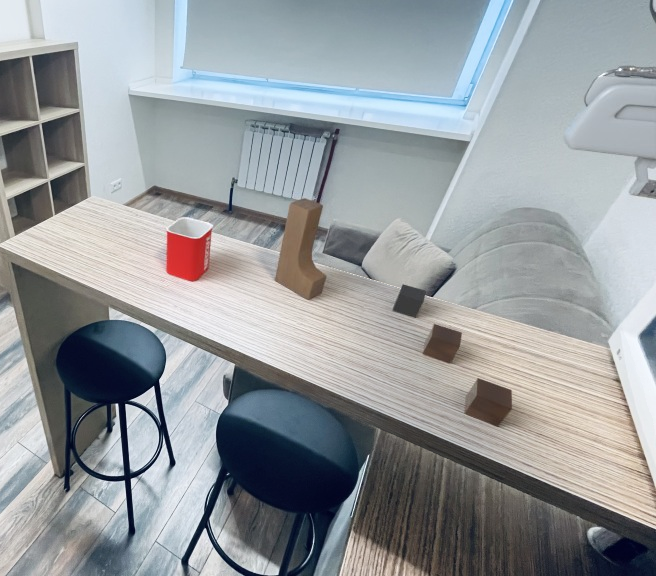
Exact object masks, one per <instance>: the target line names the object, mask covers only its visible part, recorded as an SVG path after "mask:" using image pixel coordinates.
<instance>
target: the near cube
mask: <svg viewBox="0 0 656 576" xmlns="http://www.w3.org/2000/svg"><path fill="white" fill-rule="evenodd" d="M512 410H513V389H511V388H507V387H505V386H502V385H499V384H496V383H494V382H491V381H488V380H485V379H483V378H480V377H477V379H476V380H475V382H474V383H473V385H472V386H471V388H470V389H469V391H468V392H467V394H466V395H465V402H464V415H467V416H469V417H472V418H474V419H477V420H479V421H482V422H484V423H487V424H489V425H492V426H495V427H497V428H498V427H500V425H501V424H502V422H503V421H504V420H505V419H506V417H507V416H508V415H509V413H511V411H512Z"/></svg>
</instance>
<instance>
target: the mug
mask: <svg viewBox="0 0 656 576" xmlns="http://www.w3.org/2000/svg"><path fill="white" fill-rule="evenodd" d="M213 228H214V224H213V223H211V222H208V221H207V220H200V219H196V218H193V217H187V216H180V217H178V218H177V219H176V220H174V221H173V222H172V223H170V224H169V225H168V226H166V228H165V232H166V268H165V269H166V273H167V274H168V275H171V276H174V277H177V278H180V279H183V280H185V281H189V282H195V281H196V282H197V280H199V279H200V278H201V277H202V276H203V275H204V274H205V273H206V272H207V271H208V270H209V268H210V257H211V256H210V254H211V243H212V234H213V233H212V232H213Z"/></svg>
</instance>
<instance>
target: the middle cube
mask: <svg viewBox="0 0 656 576" xmlns="http://www.w3.org/2000/svg"><path fill="white" fill-rule="evenodd" d="M462 335H463V332H461V331H458V330H457V329H453V328H450V327H446V326H443V325H439V324H436V323H433V325H432V327H431V329H430V330H429V333H428V335H427V336H426V338H425V340H424V345H423V349H422V355H425V356H426V357H430V358H432V359H436V360H438V361H441V362H444V363H446V364H449V365H450V364H451V363H452V361H453V359H454V357H455V356H456V355H457V353H458V351H459V349H460V348H461V343H462V337H463V336H462Z"/></svg>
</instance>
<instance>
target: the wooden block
mask: <svg viewBox="0 0 656 576" xmlns="http://www.w3.org/2000/svg"><path fill="white" fill-rule="evenodd" d="M323 208H324V205H323V204H321V203H319V202H317V201H313V200H311V199H308V198H305V197H304V198H301V199H297V200H295V201H292V202H290V204H289V207H288V211H287V217H286V221H285V225H284V227H285V228H284V231H283V237H282V241H281V246H280V252H279V257H278V261H277V266H276V271H275V276H274V281H275V282H277V283H278V284H280V285H282V286H284V288H287V289H288V290H291V291H292V292H294V293H295V294H297V295H299V296H301V297H303V298H304V299H306V300H309V301H310V300H312V299H313V298H316V297H317V296H319V295H321V294H322V293H323V291H324V287H325V283H326V281H327V276H328V275H327V274H325V273H324V272H323V271H321V270H320V269H318V268H317V267H316V265H315V262H314V260H313V248H314V244H315V240H316V236H317V232H318V227H319V224H320V221H321V217H322V212H323Z"/></svg>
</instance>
